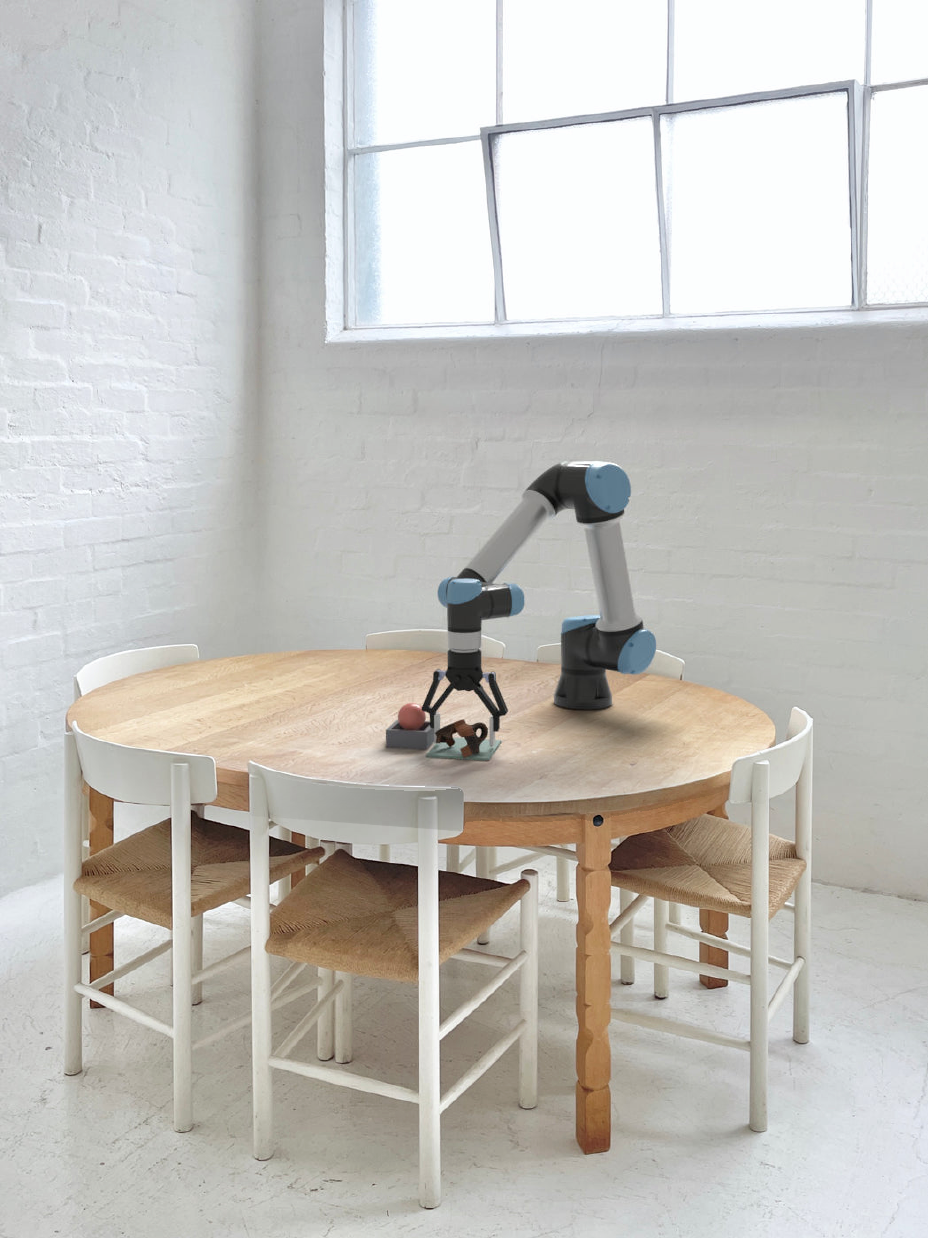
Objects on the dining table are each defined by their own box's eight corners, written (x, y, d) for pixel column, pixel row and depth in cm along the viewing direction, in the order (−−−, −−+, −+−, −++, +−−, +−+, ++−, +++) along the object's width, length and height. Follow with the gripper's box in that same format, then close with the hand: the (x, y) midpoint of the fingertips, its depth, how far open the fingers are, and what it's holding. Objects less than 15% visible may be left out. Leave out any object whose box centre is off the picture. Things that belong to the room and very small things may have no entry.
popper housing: (437, 738, 267) (437, 721, 267) (427, 749, 258) (427, 732, 257) (397, 736, 269) (397, 719, 269) (386, 747, 260) (385, 729, 259)
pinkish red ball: (428, 727, 265) (428, 700, 264) (422, 734, 259) (421, 707, 258) (402, 726, 267) (401, 699, 266) (394, 733, 261) (394, 705, 260)
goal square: (501, 742, 264) (501, 740, 264) (488, 760, 249) (488, 758, 249) (442, 739, 267) (442, 736, 267) (426, 756, 252) (426, 754, 252)
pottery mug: (454, 763, 247) (438, 728, 249) (441, 771, 256) (425, 737, 257) (501, 742, 252) (485, 708, 254) (486, 750, 261) (471, 717, 262)
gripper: (521, 648, 255) (520, 742, 259) (415, 643, 260) (416, 736, 264) (515, 654, 248) (514, 751, 252) (407, 650, 253) (408, 745, 257)
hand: (464, 743), depth 258 cm, fingers open, 12 cm apart
